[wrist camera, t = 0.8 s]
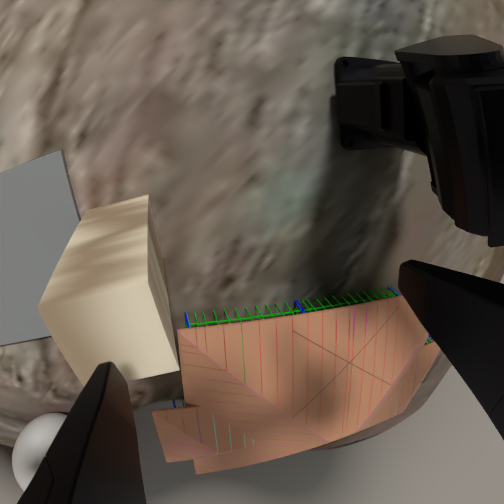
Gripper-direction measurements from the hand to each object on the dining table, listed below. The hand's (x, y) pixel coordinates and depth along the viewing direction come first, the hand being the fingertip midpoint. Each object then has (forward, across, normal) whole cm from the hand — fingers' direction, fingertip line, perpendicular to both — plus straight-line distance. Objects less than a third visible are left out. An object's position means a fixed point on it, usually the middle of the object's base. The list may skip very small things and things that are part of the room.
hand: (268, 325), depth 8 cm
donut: (+12, +21, +15) cm, 28 cm away
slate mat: (+12, +14, 0) cm, 18 cm away
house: (+13, -6, +21) cm, 26 cm away
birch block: (+12, +5, +1) cm, 13 cm away
